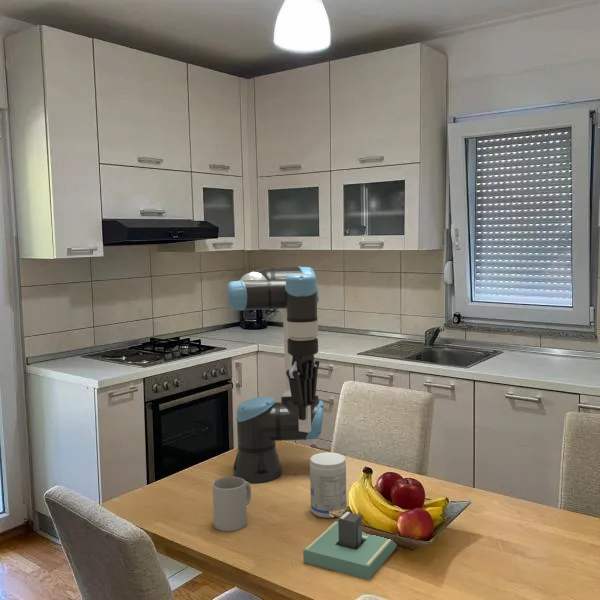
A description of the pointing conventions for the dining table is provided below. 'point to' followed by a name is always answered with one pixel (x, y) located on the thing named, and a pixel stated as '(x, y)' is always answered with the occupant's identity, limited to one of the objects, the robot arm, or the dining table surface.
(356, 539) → the plug
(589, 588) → the dining table surface
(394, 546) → the green square socket board
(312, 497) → the supplement tub
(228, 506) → the mug
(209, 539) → the dining table surface
